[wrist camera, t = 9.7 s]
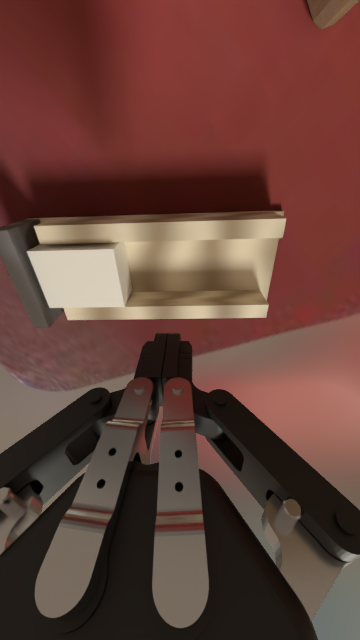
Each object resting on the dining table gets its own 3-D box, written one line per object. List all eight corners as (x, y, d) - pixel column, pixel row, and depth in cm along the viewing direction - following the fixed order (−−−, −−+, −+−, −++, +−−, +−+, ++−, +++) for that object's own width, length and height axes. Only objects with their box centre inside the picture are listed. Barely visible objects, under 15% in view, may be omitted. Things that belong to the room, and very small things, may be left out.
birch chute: (282, 210, 23) (306, 221, 18) (264, 299, 28) (279, 325, 24) (27, 218, 24) (-12, 231, 19) (58, 302, 29) (34, 328, 25)
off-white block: (123, 237, 24) (113, 249, 21) (132, 289, 27) (124, 306, 24) (48, 239, 24) (26, 251, 21) (66, 290, 28) (49, 308, 24)
